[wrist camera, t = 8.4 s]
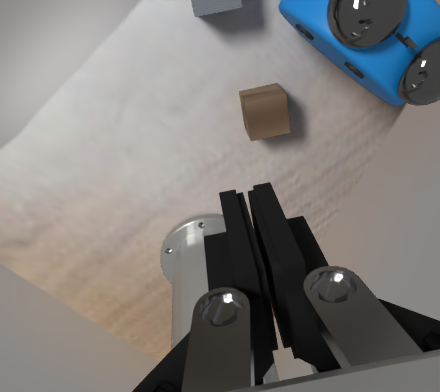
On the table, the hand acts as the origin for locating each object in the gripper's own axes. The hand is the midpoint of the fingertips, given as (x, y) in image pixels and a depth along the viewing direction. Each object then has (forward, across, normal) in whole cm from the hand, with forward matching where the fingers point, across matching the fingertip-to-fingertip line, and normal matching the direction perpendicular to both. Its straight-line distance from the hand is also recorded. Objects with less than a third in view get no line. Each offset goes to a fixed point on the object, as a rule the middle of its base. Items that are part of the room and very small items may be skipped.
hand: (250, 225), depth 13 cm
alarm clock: (+29, -13, -1) cm, 32 cm away
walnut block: (+29, -5, +6) cm, 30 cm away
